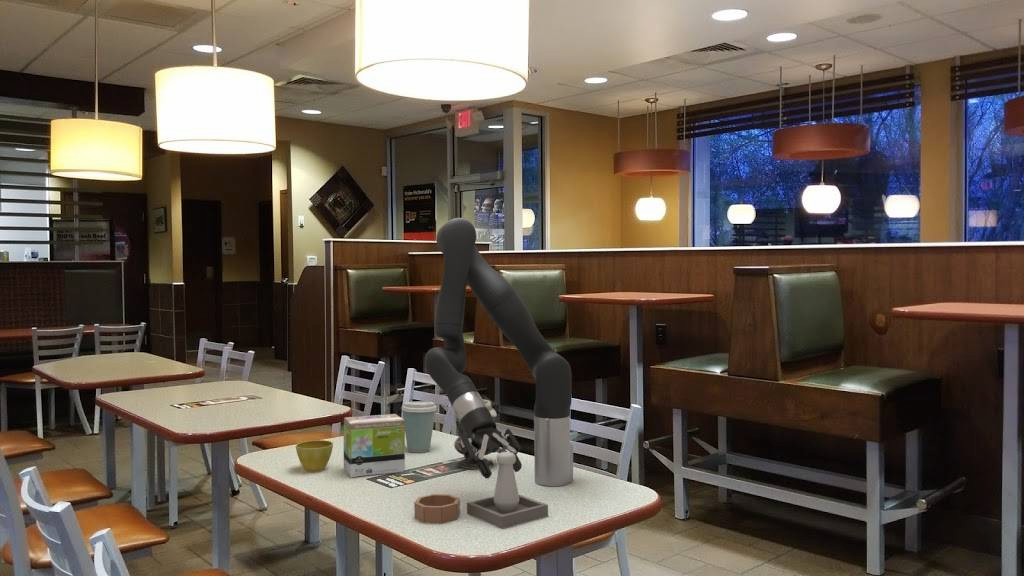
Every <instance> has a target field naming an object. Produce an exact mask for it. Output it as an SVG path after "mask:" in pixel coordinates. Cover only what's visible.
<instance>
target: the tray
mask: <svg viewBox="0 0 1024 576" xmlns="http://www.w3.org/2000/svg"><path fill="white" fill-rule="evenodd" d="M466 514H467V515H469V516H470V517H474V518H477V519H479V520H481V521H484V522H486V523H488V524H491V525H493V526H495V527H498V528H500V529H506V528H509V527H512V526H516V525H520V524H524V523H528V522H531V521H534V520H538V519H541V518H542V519H543V518H545V517H548V516H549V504H547V503H544V502H541V501H538V500H535V499H533V498H530V497H528V496H524V495H521V494H519V503H518V505H517V507H516V510H515V511H514V512H510V513H504V512H500V511H498V510H497V508H496V506H495V503H494V495H493V496H489V497H486V498H482V499H477V500H473V501H468V502H466Z"/></svg>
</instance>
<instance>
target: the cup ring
mask: <svg viewBox="0 0 1024 576" xmlns="http://www.w3.org/2000/svg"><path fill="white" fill-rule="evenodd" d="M413 503H414V508H413V509H414V519H416V520H417V521H419V522H421V523H424V524H425V523H426V524H444V523H447V522H452V521H456V520H458V518H459V517H460V515H461V499H460V497H457V496H455V495H452V494H442V493H441V494H440V493H437V494H435V493H433V494H432V493H431V494H428V495H422V496H419V497H417V499H416V500H415V501H414V502H413Z"/></svg>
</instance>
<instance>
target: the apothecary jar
mask: <svg viewBox="0 0 1024 576" xmlns="http://www.w3.org/2000/svg"><path fill="white" fill-rule="evenodd" d="M482 399H483V398H482ZM483 400H484V402H485V404H486V406H487V408H488V409H489V411H490V413H491V415H492V417H493V419H494V420H495V421H496V420H497V412H496V410H495V409H494V408H493V407H492V402H491V400H489V399H483ZM454 418H455V420H456V422H458V437H457V438H456V439H455V441H454V443H453V446H454V449H455V450H456V451H457V453H459V454H461V455H463V452H462V450H461V448H460V446H459V443H460V442H461V440H462V439H463V437H467V436H466V434H465V433H464V431H463V429H462V427H461V425H460V423H459V421H458V419H457V417H456V415H455V414H454ZM471 446H472V445H471ZM472 449H473V451H474V453H475V454H476V448H475V447H473V446H472ZM488 455H491V453H489V454H484V459H483V460H486V462H487V464H488V466H489V468H491V467H492V466H493V465H494V462H493V461H492V460H490V459H488V458H485V456H488ZM457 464H458V466H459V468H462V469H467V470H468V469H469V470H479V468H478V466H476V465H475V464H471V465H469V464H468V463H467V462H466V459H465V458H464V459H462V460H461V461H459V462H458V463H457Z"/></svg>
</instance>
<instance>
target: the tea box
mask: <svg viewBox="0 0 1024 576" xmlns="http://www.w3.org/2000/svg"><path fill="white" fill-rule="evenodd" d="M405 445H406V435H405V420H404V419H403V417H401V416H399V415H398V414H397V413H390V414H389V413H388V414H377V415H376V414H374V415H362V416H346V417H343V470H344V471H345V472H346V473H347V474H348V476H349V477H350V478H356V477H363V476H373V475H383V474H386V475H387V474H394V473H395V474H397V473H404V472H405V470H406V469H405V468H406V467H405V466H406V463H405V461H406V460H405V459H406V446H405Z"/></svg>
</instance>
